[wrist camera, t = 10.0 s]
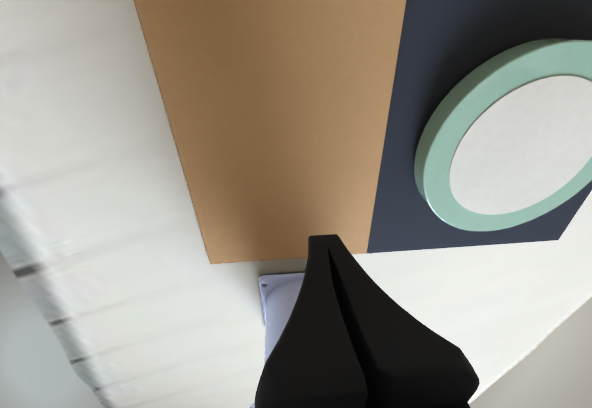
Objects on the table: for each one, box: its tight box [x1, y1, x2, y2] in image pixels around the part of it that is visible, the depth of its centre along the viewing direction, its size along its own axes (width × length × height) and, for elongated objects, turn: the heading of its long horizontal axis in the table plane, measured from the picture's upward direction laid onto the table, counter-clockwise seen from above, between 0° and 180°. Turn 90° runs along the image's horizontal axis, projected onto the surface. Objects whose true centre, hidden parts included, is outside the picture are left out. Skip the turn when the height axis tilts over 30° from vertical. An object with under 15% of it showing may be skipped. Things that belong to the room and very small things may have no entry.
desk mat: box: [134, 0, 592, 264], centre depth 20 cm, size 20×32×1 cm, turn 92°
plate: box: [414, 38, 592, 231], centre depth 19 cm, size 13×13×2 cm
